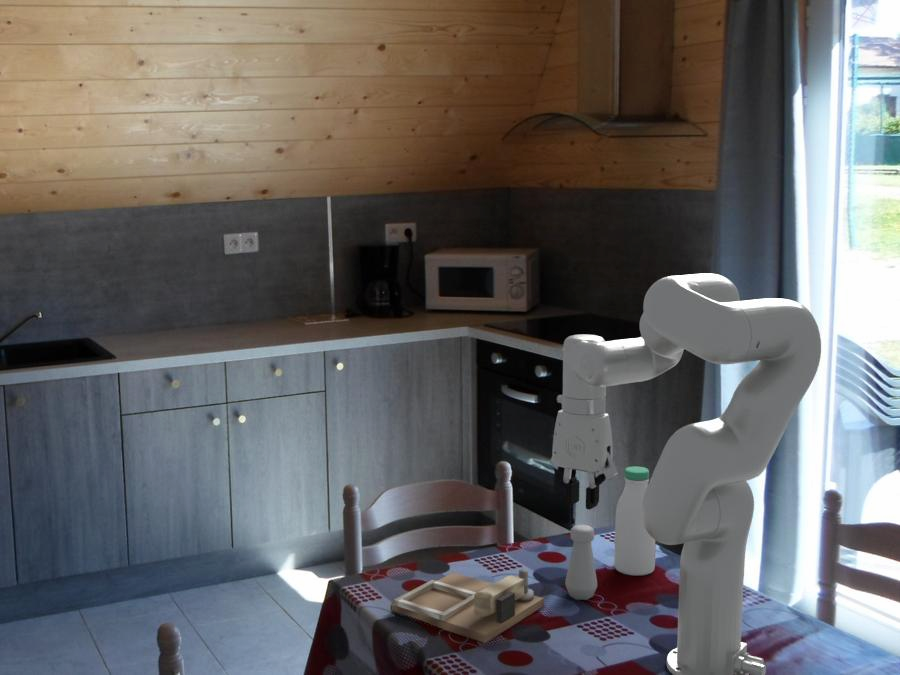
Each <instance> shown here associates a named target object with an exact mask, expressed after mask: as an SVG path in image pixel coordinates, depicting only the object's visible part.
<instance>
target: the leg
mask: <svg viewBox="0 0 900 675" xmlns="http://www.w3.org/2000/svg"><path fill="white" fill-rule="evenodd" d="M492 584H493V585H491V586H489V587H487V588H485V589H483V590H481V591H479V592H478V593H476V594H475V595H474V613H475V614H476V615H478V616H489V615H491V614H493V613H494V612H496V611H497V599H498V598H500V597H502V596H503V595H505V594H507V593H508V592H513V593H515V600H517V599H519V598H520V597H522V596H524V579H522V578H519V576H516V575H515V576H514V575H511V574H510V575H508V576H505V577H504V578H501V579H500V580H498V581H497V582H494V583H492Z"/></svg>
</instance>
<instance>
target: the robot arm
mask: <svg viewBox="0 0 900 675" xmlns="http://www.w3.org/2000/svg"><path fill="white" fill-rule="evenodd" d="M738 290H739V289H738V288H737V286H736V285H735V284H734V283H733V282H732V281H731V280H730V279H728V278H727V277H725V276H723V275H720V274H717V273H705V272H704V273H693V274H692V273H691V274H682V275H680V274H679V275H670V276H669V275H668V276H664V277H662V278H660V279H658V280H656V281H655V282H654V283H653V284H651V286H650V287H649V288H648V290H647V291H646V293H645V296H644V298H643V306H642V309H643V312H642V315H641V316H640V320H639V331H640V336H639V337H635V338H634V337H632V338H623V339H614V340H607V341H606V340H605V339H604V338H603V336H599V335H596V334H589V333H588V334H587V333H586V334H584V333H583V334H574V335H569V336H568V337H566V338H565V339H564V341H563V348H562V349H563V350H562V351H563V352H562V356H563V357H562V393H561V394H558V395H557V397H556V402H557V403H560V404H561V409H560V410H558V411H557V416H556V420H555V423H554V430H553V439H552V453H551V454H552V456H551V458H550V459H549V464H550V465H551V466H552V467H554V469H556V470H557V471H558V473H559V474H560V476H561V477H562V478H563V483H564V484H565V488H566V491H565V493H566V494H565V497H566V499H567V500H566V504H567V506H573V505H574V504H576V503H579V502H580V479H577V478H578V471H580V472H584V473H587V476H588V477H587V479H588V480H587V481H588V487H586V488H585V509H586V510H593V509H594V508H595V507H597V506H598V505H599V503H600V485H603V483H604V482H605V481H606V480H607V479H610V478H614V477H615V476H617V475H618V470H617V467H616V465H615V463H614V460H613V457H614V455H613V453H614V452H613V451H614V450H613V446H614V445H613V437H612V435H613V434H612V426H611V420H610V415H609V413H606V399H607V398H606V397H607V387H612V386H619V385H625V384H632V383H638V382H639V383H641V382H645V381H649V380H652V379H654V378H656V377H658V376H660V375H662V374H664V373H665V372H667V371H669V370H671V369H672V368H674V367H675V366H677V364H678V363H679V362H680V360H681V359H682V356H683V353H684V350H686V351H687V352H689V353H691V354H692V355H695V356H696V357H698V358H700V359H702V360H705V362H708V363H712V364H715V365H734V364H743V363H748V362H750V363H751V362H756V361H758V363H757V364H756V365H755V366H754V368H752V369H751V370H750V371H749V373H748V374H746V376H745V377H744V378H743V379H742V380H741V381H740V382H739V384H738V385H737V387H736V388H735V389H734V392H733V394H732V397H731V399H730V402H729V403H728V405H727V407H726V408H725V410H724V412H723V413H722V414H721V415H720V416H718V417H717V418H713V419H711V420H706V421H705V420H704V421H698V422H694V423H689V424H686V425H684V426H682V427H681V428H679V429H677V430H676V431H675V432H674V433H673V434H672V435H671V436H670V437H669V439H668V440H667V441H666V443H665V445H664V447H663V450H662V452H661V454H660V456H659V459H658V460H657V464H656V465H655V468H654V470H653V473H652V474H651V477H650V479H649V481H648V486H647V488H646V491H645V494H644V497H643V501H642V520H643V524H644V526H645V529H646V531H647V532H648V534H649V535H650V536H651V537H652V538H653V539H654V540H656V542H658V543H660V544H663V545H666V546H667V545H668V546H674V545H681V544H683V546H682V550H681V554H680V559H679V560H680V562H679V579H678V580H679V583H678V610H677V611H678V612H677V613H678V614H677V617H678V618H677V642H676V644H677V645H676V648H674V649H672V650H671V651H669V653H668V654H667V656H666V667H667V670H668V671H669V672H670V673H671V675H749V674H750V675H766V673H767V666H766V665H765V664H764V662H765V659H764V658H763V657H760V656H759V657H758V656H753V655H751V654H750V653H749V652H747V651H748V644H747V643H746V642H744V641H742V627H743V625H742V624H743V620H742V619H743V601H744V600H743V599H744V598H743V597H744V580H745V579H744V577H745V565H746V563H745V562H746V551H747V543H748V538H749V533H750V530H751V526H752V522H753V518H754V511H755V500H754V499H755V498H754V493H753V490H752V488H751V486H750V485H749V482H747V481H750V480H754V479H755V478H757V477H759V476H760V475H762V473H763V472H764V471H765V470H766V468H767V467H768V465H769V463H770V460H771V459H772V458H773V455H774V453H775V452H776V449H777V447H778V445H779V443H780V441H781V440H782V437H783V435H784V434H785V431H786V429H787V428H788V426H789V423H790V421H791V419H792V417H793V415H794V413H795V412H796V410H797V408H798V406H799V404H800V403H801V402H802V400H803V398H804V397H805V395H806V394H807V392H808V390H809V388H810V386H811V384H812V382H813V380H814V379H815V377H816V374H817V372H818V370H819V366H820V363H821V362H820V361H821V354H822V339H821V333H820V330H819V326H818V324H817V320H816V319H815V317H814V315H813V314H812V312H811V311H810V310H809V309H808V308H807V307H805V305H803V304H801V303H799V302H798V301H795V300H793V299H787V298H776V297H774V298H772V297H768V298H765V297H764V298H756V299H747V300H741V298H740V293H739V291H738ZM604 469H605V471H604V472H603V470H604Z"/></svg>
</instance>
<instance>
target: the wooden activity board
mask: <svg viewBox="0 0 900 675" xmlns="http://www.w3.org/2000/svg"><path fill="white" fill-rule="evenodd" d="M518 578H522V579H524V596H522V597H520V598H519V599H517V600H515V593H513V592H508V593H507V594H505V595H503V596H502V597H500V598H498V599H497V611H496V612H494V613H493V614H491V615H489V616H478V615H476V614H475V613H474V595H475V594H476V593H478V592H479V591H481V590H483V589H485V588H487V587H489V586H491V585H493V584H494V583H492V582H488V581H484V580H481V579H478V578H473V577H470V576H468V575H467V576H466V575H464V574H461V573H460V574H459V573H456V572H451V573H449V574H447V575H446V576H443V577H442V578H440V579H438V580H434V579H431V580H428V582H425V583H423V584H421V585H419V586H418V587H416V588H413V589H412V590H410V591H408V592H406V593H404V594H402V595H400V596H398V597H396V598H394V599H393V603H392V604H391V611H392V610H393V611H396V612H399V613H402V614H405V615H408V616H411V617H413V618H416V619H419V620H422V621H424V622H426V623H429V624H431V625H430V626H432V625H434V626H433V627H435V626H437V627H436V628H438V627H439V628H438V629H441V628H442V629H441V630H444V631H447V632H450V633H454V634H457V635H460V636H462V637H466V638H469V639H471V640H476V641H478V642H481V643H484V644H486V643H488V642H489V641H491V640H492V639H494V638H496V637H497V636H499V635H500V634H501V633H503V632H505V631H507V630H508V629H510V628H512V627H513V626H515V625H516V624H518V623H519V622H521V621H522V620H524V619H526V618H527V617H529V616H531V615H533V613H535V612H537V611H539V610H540V609H542V608H543V607H544V606H545V605H544V603H545V598H544V597H541V596H538V595H536V594H535V595H534V590H533V589H531V588H529V570H528V569H524V568H523V569H519V570H518ZM426 623H425V624H426ZM429 624H428V625H429Z"/></svg>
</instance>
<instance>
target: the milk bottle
mask: <svg viewBox="0 0 900 675" xmlns="http://www.w3.org/2000/svg"><path fill="white" fill-rule="evenodd" d="M649 478H650V470H649V468H646V467H645V466H635V465H633V466H628V467H625V469H624V481H625V485H624V488H623V491H622V493H621V495H620V497H619V499H618V502H617V504H616V510H615V518H614V519H615V520H614V522H615V523H614V524H615V525H614V561H613V562H614V564H613V565H614V568H615V570H616V571H617V572H619V573H622V574H624V575H627V576H638V577H639V576H646V575H649V574H652V573H653V572H654V571H655V567H656V543H657V541H656V540H654V539H653V538H652V537H651V536H650V535H649V534H648V532H647V531H646V529H645V526H644V524H643V520H642V501H643V497H644V494H645V491H646V488H647V486H648V483H649V481H650V479H649Z"/></svg>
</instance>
